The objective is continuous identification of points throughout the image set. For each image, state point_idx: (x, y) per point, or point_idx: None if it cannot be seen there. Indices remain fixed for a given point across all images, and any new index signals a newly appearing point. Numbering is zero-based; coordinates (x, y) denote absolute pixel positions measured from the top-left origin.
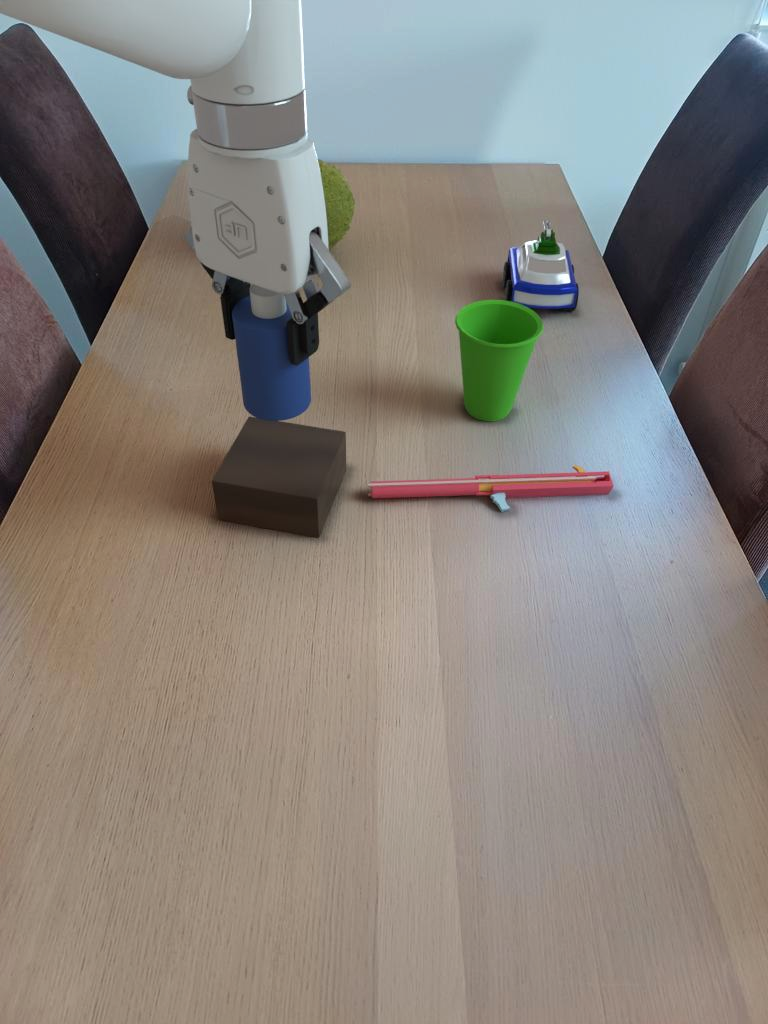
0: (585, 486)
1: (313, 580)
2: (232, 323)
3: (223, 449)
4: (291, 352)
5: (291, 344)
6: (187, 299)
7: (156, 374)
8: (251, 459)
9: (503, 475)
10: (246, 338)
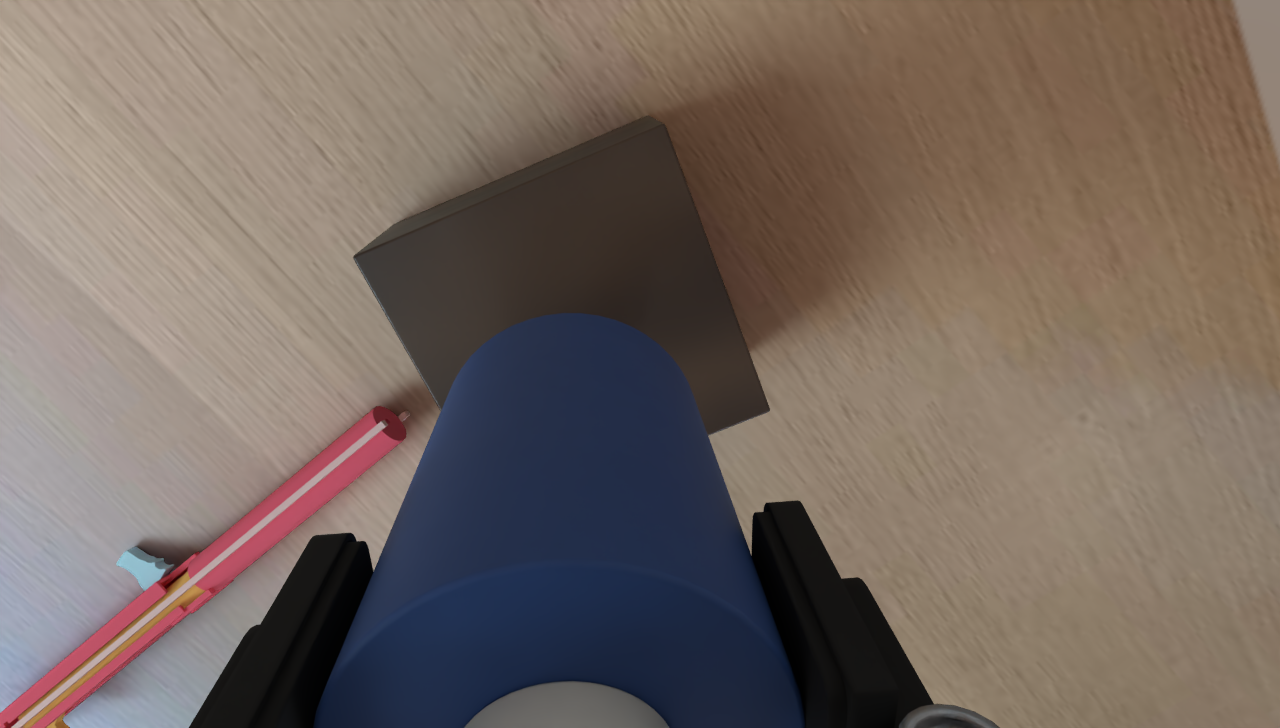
0: (14, 702)
1: (291, 95)
2: (776, 576)
3: (818, 329)
4: (310, 578)
5: (281, 617)
6: (1251, 679)
7: (1154, 438)
8: (630, 272)
9: (160, 629)
10: (552, 506)
